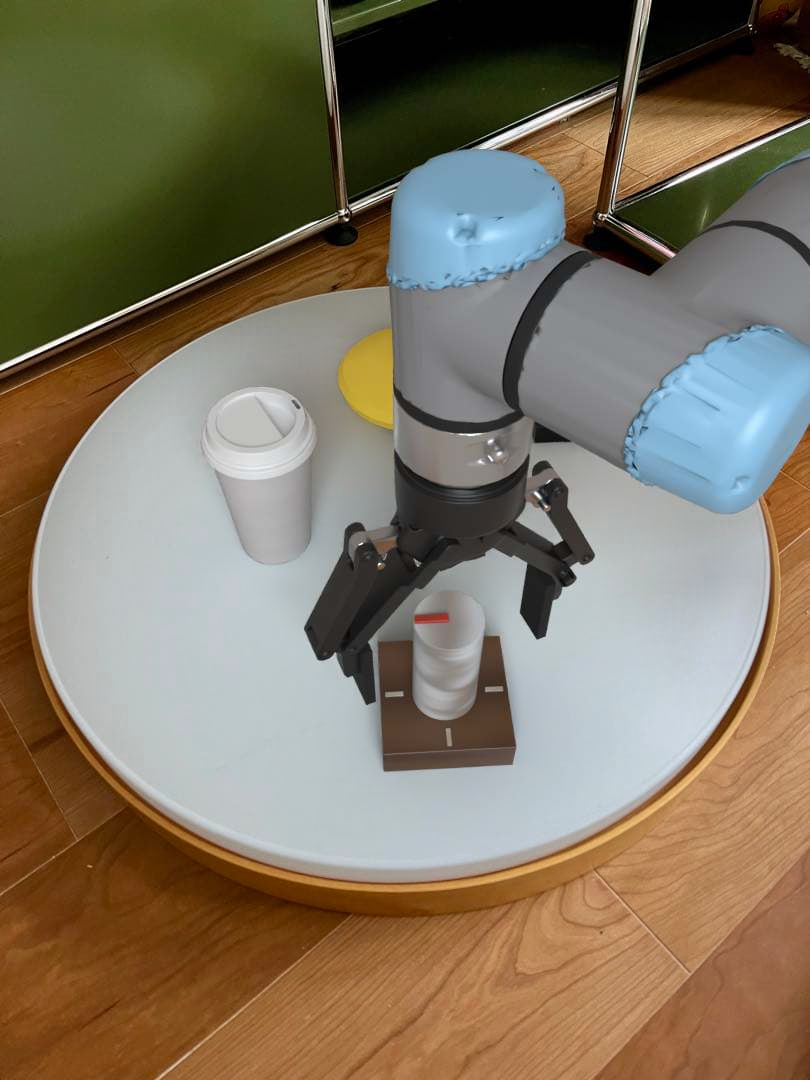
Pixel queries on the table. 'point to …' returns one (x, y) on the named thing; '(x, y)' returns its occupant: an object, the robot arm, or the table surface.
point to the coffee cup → (264, 469)
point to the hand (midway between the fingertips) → (450, 655)
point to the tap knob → (447, 654)
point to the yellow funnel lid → (370, 378)
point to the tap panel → (444, 742)
